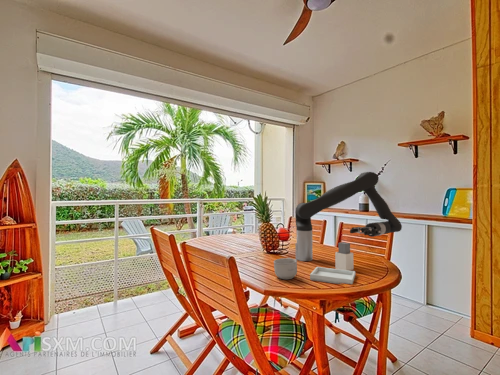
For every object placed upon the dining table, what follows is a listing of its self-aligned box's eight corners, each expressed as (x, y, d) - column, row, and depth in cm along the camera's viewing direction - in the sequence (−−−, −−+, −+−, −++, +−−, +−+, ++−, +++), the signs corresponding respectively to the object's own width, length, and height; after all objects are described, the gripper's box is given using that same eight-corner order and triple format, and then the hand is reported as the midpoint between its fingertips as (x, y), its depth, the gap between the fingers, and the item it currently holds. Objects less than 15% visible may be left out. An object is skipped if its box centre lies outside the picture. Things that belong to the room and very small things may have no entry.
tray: (310, 279, 123) (309, 274, 123) (316, 271, 135) (316, 266, 136) (352, 285, 115) (352, 279, 115) (355, 276, 128) (355, 271, 128)
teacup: (291, 282, 119) (291, 264, 119) (269, 278, 125) (269, 261, 125) (303, 274, 131) (303, 258, 131) (282, 271, 136) (282, 255, 137)
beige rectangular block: (345, 272, 134) (345, 254, 134) (335, 269, 139) (335, 252, 139) (353, 270, 137) (353, 252, 138) (343, 267, 143) (343, 250, 143)
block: (345, 270, 136) (345, 244, 136) (338, 268, 139) (338, 242, 139) (350, 269, 138) (350, 243, 138) (343, 267, 141) (343, 242, 141)
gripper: (363, 221, 159) (346, 223, 151) (387, 223, 148) (369, 226, 139) (364, 234, 159) (346, 237, 151) (387, 237, 147) (370, 241, 139)
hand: (357, 232), depth 145 cm, fingers open, 8 cm apart
